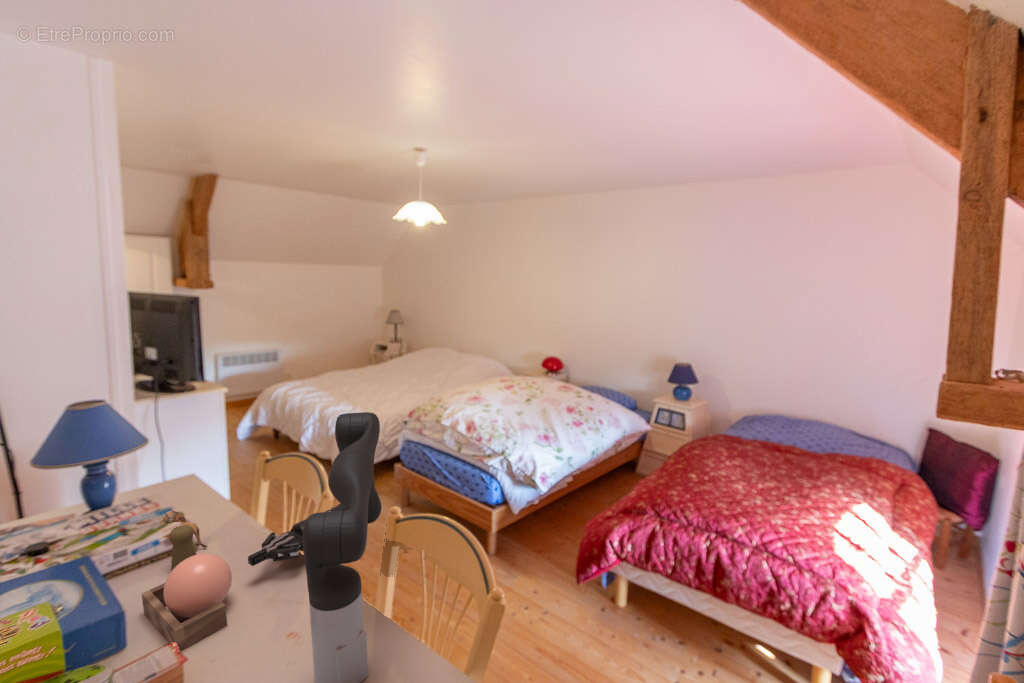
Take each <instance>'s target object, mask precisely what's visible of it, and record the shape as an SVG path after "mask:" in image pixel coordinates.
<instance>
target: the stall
mask: <svg viewBox="0 0 1024 683" xmlns="http://www.w3.org/2000/svg"><path fill="white" fill-rule="evenodd" d="M164 585H165V582H164V583H161V584H159V585H157V586H155V587H153V588H150V589H149V590H146V591H144V592H142V593H141V598H142V599H141V601H142V607H143V608H142V609H143V614H144V615H145V616H146V618H147V619H148V620H149V621H150V623H151V624H153V626H154V627H155V628H156V629H157V631H158V632H159V633H160V634H161V635H162V636H163V638H164V639H165V640H166V641H167V642H168V643H169V644H170V643H171V642H176V643H177V645H178V647H179V650H180V651H181V652H182V651H184V650H186V649H188V648H189V646H190V647H191V646H194V644H196V643H198V642H200V641H202V640H204V639H206V638H207V636H208V637H209V636H211V635H213V634H215V633H216V632H218V631H219V630H222V629H224V628H225V626H226V627H227V626H228V620H227V609H226V604H225V603H224V602H223V601H222V602H221V603H219V604H217V605H216V606H214V607H212V608H210V609H208V610H206V611H204V612H202V613H200V614H198V615H196V616H194V617H192V618H189V619H188V618H187V619H186V620H184V621H183V622H180V621H179V620H178V619H177V618H176V617H175V616H174V615H173V613H172V612H171V611H170V610H169V609H168V607H167V606H166V604H165V601H164V596H163V591H164Z"/></svg>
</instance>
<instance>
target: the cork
mask: <svg viewBox="0 0 1024 683" xmlns="http://www.w3.org/2000/svg"><path fill="white" fill-rule="evenodd" d="M194 535H195V534H194V531H193V528H192V527H191V526H189V525H182V526H179V527H176V528H174V529H173V530H172V531H171V530H170V532H169V537H168V539H169V541H170V543H172V547H171V548H172V549H171V552H172V553H171V554H172V555H171V570H170V571H171V572H172V570H173V569H174V568H175V567H176V566H177V565H178V564H179V563H181V562H182V561H183V560H185V559H187V558H189V557H191V556H194V555H197V552H196V551H197V550H196V551H195V548H194V544H193V541H194V540H193V541H192V537H193V538H194ZM171 572H170V573H171Z"/></svg>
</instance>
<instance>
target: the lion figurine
mask: <svg viewBox="0 0 1024 683" xmlns="http://www.w3.org/2000/svg"><path fill="white" fill-rule="evenodd" d="M172 522H182V523H183V525H189V526H191V527H192V528H193V531H194V534H193V535H195V539H196V543H195V541H194V536H193V537H192V541H193V544H194V548H195V551H197V550H198V547H197V545H200V546H201V547H202V548H203V549H205V548H206V549H207V548H208V545H206V544H204V543H202V540H201V537H200V536H201V535H200V528H199V526H198V525H197V523H194V522H193V523H192V522H189V521H188V520H187V518H186V516H184V514H182V513H180V512H178V511H175V510H169V511H166V512H165V516H164V517H163V519H162V520H160V522H159V525H161V524H163V523H172Z"/></svg>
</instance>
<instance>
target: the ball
mask: <svg viewBox="0 0 1024 683" xmlns="http://www.w3.org/2000/svg"><path fill="white" fill-rule="evenodd" d="M232 582H233V574H232V570H231V567H230V564H229V563H228V562H227V561H226V559H224V558H223V557H221V556H219V555H217V554H214V553H207V552H206V553H198V554H197V553H196V555H194V556H191V557H189V558H187V559H185V560H183V561H182V562H181V563H179V564H178V565H177V566H176V567H175V568H174V569H173V570H172V572H169V575H168V576H167V578H166V580H165V582H164V583H165V585H164V591H163V596H164V601H165V604H166V606H167V607H166V608H167V609H168V610H169V612H170V613H171V614H174V615H175V616H178V617H181V618H187V619H188V618H189V619H190V618H192V617H194V616H196V615H198V614H200V613H202V612H204V611H206V610H208V609H210V608H212V607H214V606H216V605H217V604H219V603H221V602H223V601H224V600H225V599H226V597H227V595H228V593H229V592H230V589H231V586H232Z"/></svg>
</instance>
